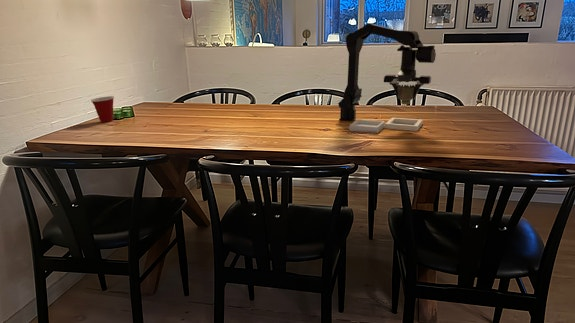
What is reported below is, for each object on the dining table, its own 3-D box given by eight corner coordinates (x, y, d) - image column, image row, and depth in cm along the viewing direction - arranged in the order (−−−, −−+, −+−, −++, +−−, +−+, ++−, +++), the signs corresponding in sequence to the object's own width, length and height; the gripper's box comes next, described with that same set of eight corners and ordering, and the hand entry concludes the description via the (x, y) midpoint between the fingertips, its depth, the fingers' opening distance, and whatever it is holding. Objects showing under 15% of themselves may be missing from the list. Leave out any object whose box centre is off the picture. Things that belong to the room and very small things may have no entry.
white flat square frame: (384, 128, 172) (384, 123, 171) (391, 121, 183) (392, 117, 182) (417, 130, 166) (417, 126, 165) (422, 124, 177) (422, 119, 176)
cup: (415, 105, 167) (416, 86, 164) (397, 105, 168) (398, 86, 166) (413, 102, 174) (414, 84, 171) (396, 102, 175) (397, 84, 173)
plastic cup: (95, 120, 202) (91, 96, 198) (118, 118, 205) (114, 95, 201) (93, 124, 192) (88, 100, 188) (116, 122, 195) (113, 98, 192)
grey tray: (349, 130, 169) (349, 124, 168) (357, 124, 179) (358, 119, 178) (377, 133, 164) (377, 127, 163) (384, 126, 174) (384, 121, 173)
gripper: (381, 63, 163) (379, 101, 168) (428, 64, 155) (425, 103, 160) (387, 61, 172) (385, 97, 177) (432, 62, 164) (429, 99, 169)
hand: (405, 99), depth 171 cm, fingers closed on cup, 6 cm apart
